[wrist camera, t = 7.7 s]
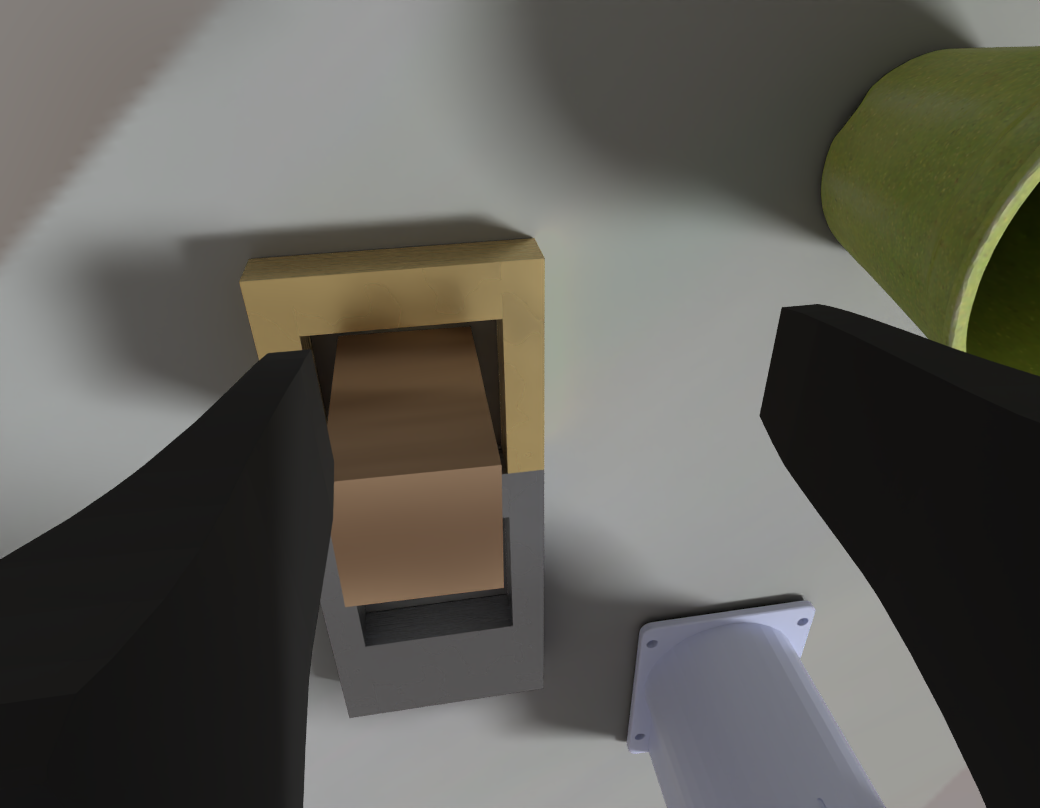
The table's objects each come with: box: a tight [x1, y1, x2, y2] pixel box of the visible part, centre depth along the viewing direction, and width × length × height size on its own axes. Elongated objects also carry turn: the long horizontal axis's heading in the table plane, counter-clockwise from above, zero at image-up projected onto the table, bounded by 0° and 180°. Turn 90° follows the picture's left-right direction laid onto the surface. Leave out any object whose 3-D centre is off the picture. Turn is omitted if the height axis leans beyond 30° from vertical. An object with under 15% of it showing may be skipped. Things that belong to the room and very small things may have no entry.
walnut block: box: [327, 326, 504, 607], centre depth 20 cm, size 4×4×7 cm
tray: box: [239, 238, 545, 718], centre depth 25 cm, size 19×8×2 cm, turn 1°
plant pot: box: [821, 46, 1040, 376], centre depth 18 cm, size 9×9×9 cm
